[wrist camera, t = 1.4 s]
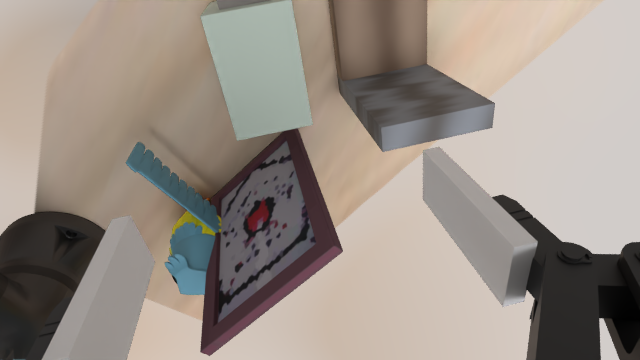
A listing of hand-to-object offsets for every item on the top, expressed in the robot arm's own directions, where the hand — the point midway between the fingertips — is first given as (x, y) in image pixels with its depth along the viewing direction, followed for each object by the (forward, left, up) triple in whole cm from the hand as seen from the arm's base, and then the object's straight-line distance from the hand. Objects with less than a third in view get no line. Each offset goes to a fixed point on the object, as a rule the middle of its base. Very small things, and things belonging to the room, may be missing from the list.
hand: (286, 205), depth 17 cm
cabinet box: (0, 0, -34) cm, 34 cm away
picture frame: (-2, -19, -34) cm, 39 cm away
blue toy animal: (-13, -21, -34) cm, 42 cm away
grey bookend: (+15, 0, -34) cm, 37 cm away
